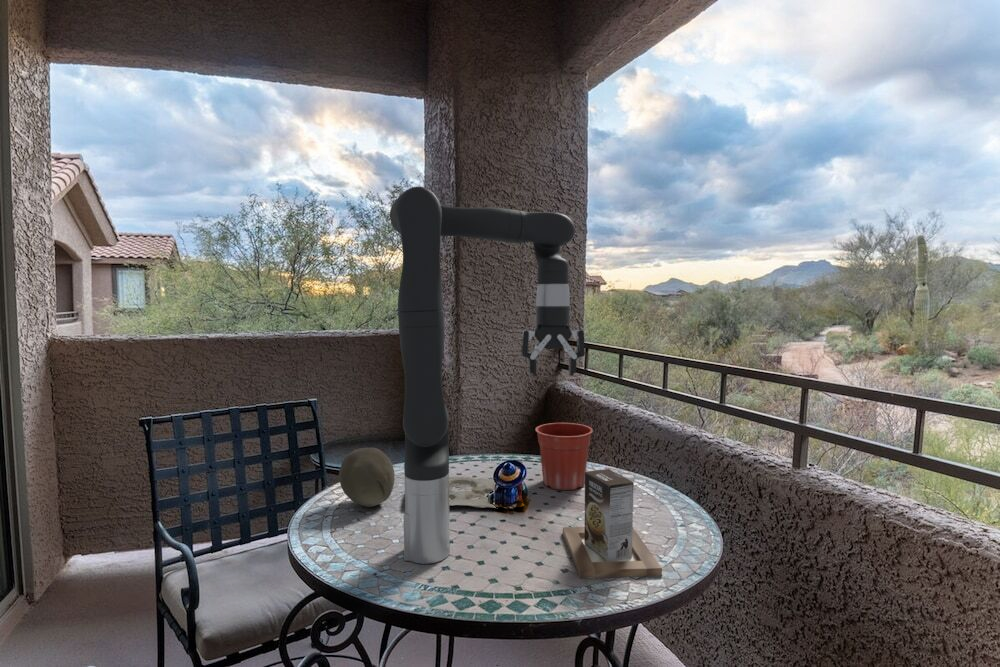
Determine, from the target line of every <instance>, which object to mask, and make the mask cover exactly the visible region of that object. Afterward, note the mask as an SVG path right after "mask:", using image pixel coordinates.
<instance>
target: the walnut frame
mask: <svg viewBox="0 0 1000 667" xmlns="http://www.w3.org/2000/svg"><path fill="white" fill-rule="evenodd" d="M632 528H633V529H632V557H631V558H627V559H623V560H619V561H614V562H606V561H605V560H604V559H602V558H601V557H600V556H599V555H597V554H596V553H595V552H594V551H592V550H591V549H590V548H589V547H588V546H586V545H585V544H584V537H585V526H565V527H564V526H563V527H562V535H563V538H564V541H565V543H566V546H567V549H568V551H569V554H570V556H571V559H572V561H573V565H574V566H575V569H576V572H577V574H578V577H579V579H593V578H595V579H599V578H622V577H623V578H627V577H629V578H630V577H656V576H657V577H662V576H663V568H662V566H661V565H660V563H659V562H658V561H657V559H656V558H655V555H653V553H652V551H651V550H650V549H649V548H648V546H647V545H646V544H645V542H644V540H643V539H642V538H641V536H640V535H639V534H638V532H637V531H636V530H635V528H634V527H632Z"/></svg>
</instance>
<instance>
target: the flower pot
mask: <svg viewBox="0 0 1000 667" xmlns="http://www.w3.org/2000/svg"><path fill="white" fill-rule="evenodd" d="M535 432H536V433H537V442H538V444H539V450H540V451H539V452H540V461H541V473H542V482H543V484H544V486H546V487H550V488H551V489H553V490H558V491H574V490H577V489H578V488H583V487H585V472H587V467H588V464H587V463H588V454H589V445H590V444H591V437H592V436H591V435H592V433H593V428H592V427H591V426H588V425H585V424H580V423H574V422H573V423H572V422H571V423H570V422H552V423H551V422H550V423H545V424H540V425H538V426H536V427H535Z"/></svg>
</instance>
